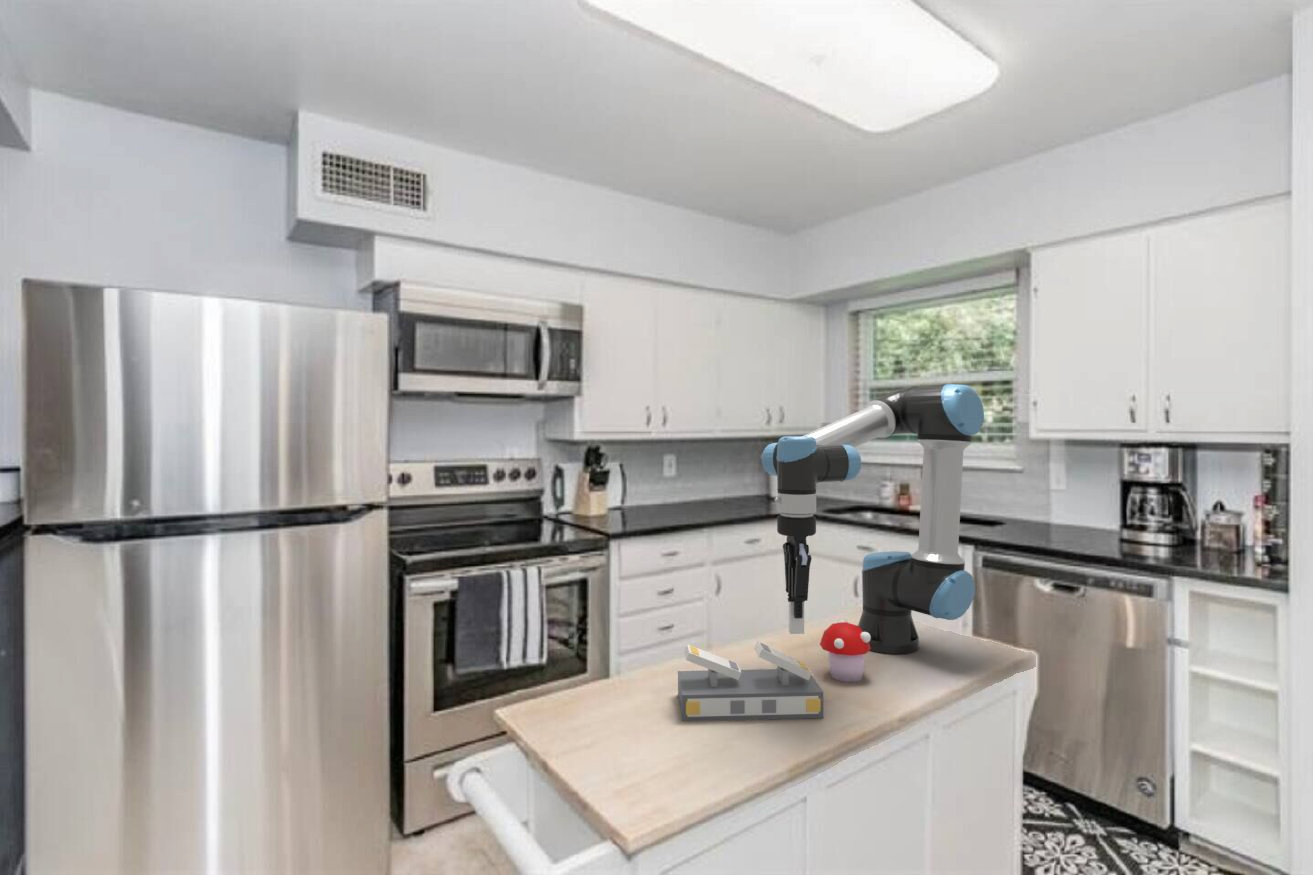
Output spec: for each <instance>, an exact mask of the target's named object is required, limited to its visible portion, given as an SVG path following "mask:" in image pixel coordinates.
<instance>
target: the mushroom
mask: <svg viewBox="0 0 1313 875" xmlns="http://www.w3.org/2000/svg"><path fill="white" fill-rule="evenodd" d="M870 639H871V636H870V634H869V633H868V632H863V631H862V630H861V629H860V627H859V626H858V624H857V625H856V624H853V623H850V622H848V621H847V620H846V619H844V618H840V619H838V620H837V622H836V623H835V622H834V623H831V624H830V626H828V627H827V628H826V629H824V631H823V633H822V637H821V640H820V642H819V646H820V647H821V649H822V650H823V651H826V652H829V653H828V657H827V659H828V666H829V671H830V676H831V678H833V679H834V680H836V681H839V682H845V683H854V682H855V683H857V682H859V681H861V680H862V679H863V674H864V668H865V663H866V661H865V656H864V655H866V654H867V653H868V652H870V651H871V648H870V644H869V641H870Z"/></svg>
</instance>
